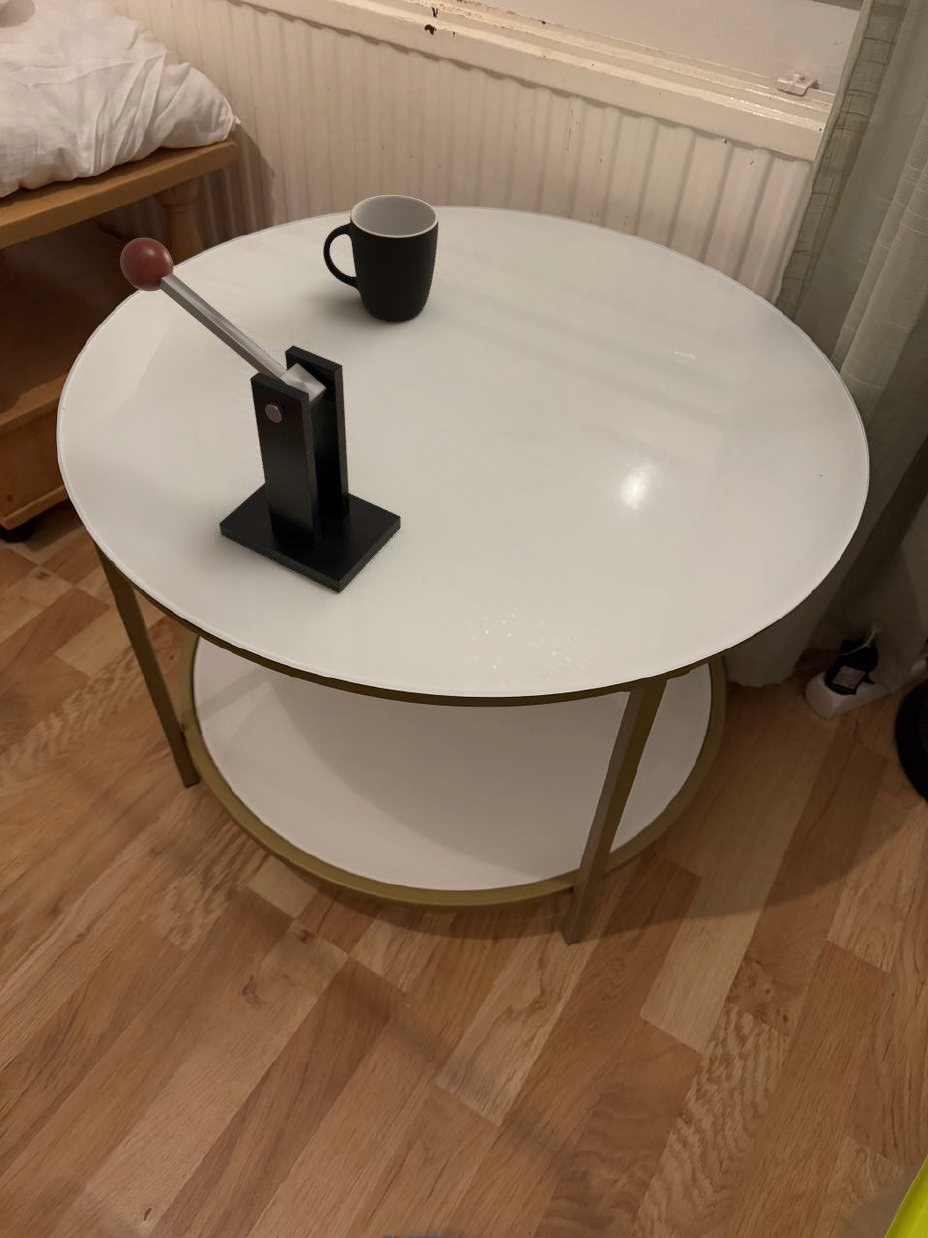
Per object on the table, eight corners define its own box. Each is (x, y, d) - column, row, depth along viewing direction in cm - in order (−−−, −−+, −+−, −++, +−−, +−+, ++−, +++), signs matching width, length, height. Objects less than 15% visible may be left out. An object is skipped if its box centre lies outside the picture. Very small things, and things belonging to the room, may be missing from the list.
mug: (439, 288, 102) (443, 198, 94) (430, 332, 96) (433, 240, 88) (333, 277, 102) (328, 187, 94) (318, 321, 96) (312, 228, 89)
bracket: (220, 534, 75) (187, 373, 63) (287, 475, 80) (268, 315, 68) (339, 593, 72) (329, 435, 60) (400, 527, 77) (402, 369, 65)
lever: (106, 276, 65) (111, 238, 62) (142, 256, 67) (148, 218, 64) (292, 432, 66) (305, 402, 63) (321, 407, 68) (335, 377, 65)
